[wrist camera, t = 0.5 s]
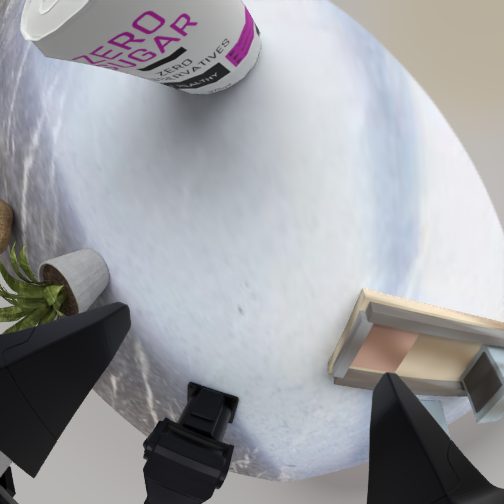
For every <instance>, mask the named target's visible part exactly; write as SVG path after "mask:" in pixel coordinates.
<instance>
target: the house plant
mask: <svg viewBox="0 0 504 504" xmlns="http://www.w3.org/2000/svg"><path fill="white" fill-rule="evenodd" d="M16 241H17V240H16ZM25 244H26V243H25ZM14 246H15V243H14V245H13V247H12V249H11V263H12V266H13V269H14V271H15V273H16V274H17V275H18V276H19V277H20V278H21V279H22V280H24V281H26V282H27V283H26V282H23V281H19V280H16V279H14V278H13V277H12V276H11V275H10V274H9V273H8V272H7V270H6V269H5V267H4V266H3V264H2V262H1V261H0V272H1V274H2V276H3V278H4V280H5V281H6V283H7V284H8V286H9V287H10V288H11V289H12V290H13V291H15V292H17V293H19V294H21V295H14V294H9V293H8V292H7V290H6V291H4V290H3V288H2V287H1V284H0V289H1V290H2V291H1V290H0V296H2V297H3V298H4V299H5V300H7V301H8V302H9V303H11V304H13V305H15V306H11V307H5V308H0V322H10V321H17V320H19V319H20V318H22V317H24V316H26V315H27V316H26V317H24V318H23V319H22V320H21V321H19V322H18V323H16V324H15V325H13V326H12V327H10V328H9V329H7V330H6V331H5V332H4V333H3V334H6V333H10V332H15V331H19V330H23V329H27V328H30V327H34V326H36V324H37V323H38V321H39V320H40V321H39V323H38V325H41V324H44V323H48V322H51V321H53V320H54V318H55V317H56V315H57V316H58V318H57V320H58V319H59V318H60V319H61V318H65V317H68V316H72V315H75V314H78V313H82V312H85V311H87V310H88V308H89V307H90V306H91V305H92V304H93V302H94V301H95V300H96V299H97V297H98V296H99V295H100V294H101V293H102V291H103V290H104V289H105V288H106V287H107V285H108V283H109V271H108V268H107V265H106V263H105V261H104V259H103V258H102V257H101V256H100V254H99V253H97V252H96V251H95V250H93V249H90V248H86V249H82V250H79V251H76V252H73V253H69V254H66V255H63V256H60V257H57V258H54V259H51V260H48V261H45V262H42V263H41V265H40V266H39V269H38V281H39V282H37V280H36V279H35V277H34V276H35V275H34V274H32V272H31V269H30V267H29V264H28V262H27V259H26V256H25V250H24V247H25V245H24V247H23V249H22V251H21V253H20V264H21V265H20V264H19V262H18V260H17V258H16V254H15V251H14ZM17 264H18V265H19V266H20V267H21V268H22V269H23V271H24V272H25V274H26V275H27V276H28V278H29V279H30V280H31V281H33V282H31V281H29V280H27V279H26V278H24V277H23V276H22V274H21V273H20V272H19V269H18V267H17ZM36 277H37V276H36ZM30 283H35V284H38V285H39V286H38V285H33V284H30ZM5 297H6V298H5ZM7 298H10V299H12V300H10V299H7ZM15 299H17V301H18V302H17V301H16V300H15Z"/></svg>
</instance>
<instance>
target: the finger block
mask: <svg viewBox="0 0 504 504" xmlns="http://www.w3.org/2000/svg"><path fill="white" fill-rule="evenodd" d="M419 401H420V402H421V403H422V404H423V405H424V407H425V408H426V409H427V410H428V411H429V413H430V414H431V415H432V416H433V418H434V419H435V420H436V421H437V422H438V424H439V425H440V426H441V427H442V429H443V430H444V431H445V432H446V434H447V435H448V436H449V437H450V434H449V430H448V426H447V422H446V419H445V415H444V412H443V408H442V405H441V402H440V401H432V400H419ZM450 440H451V438H450Z"/></svg>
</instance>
